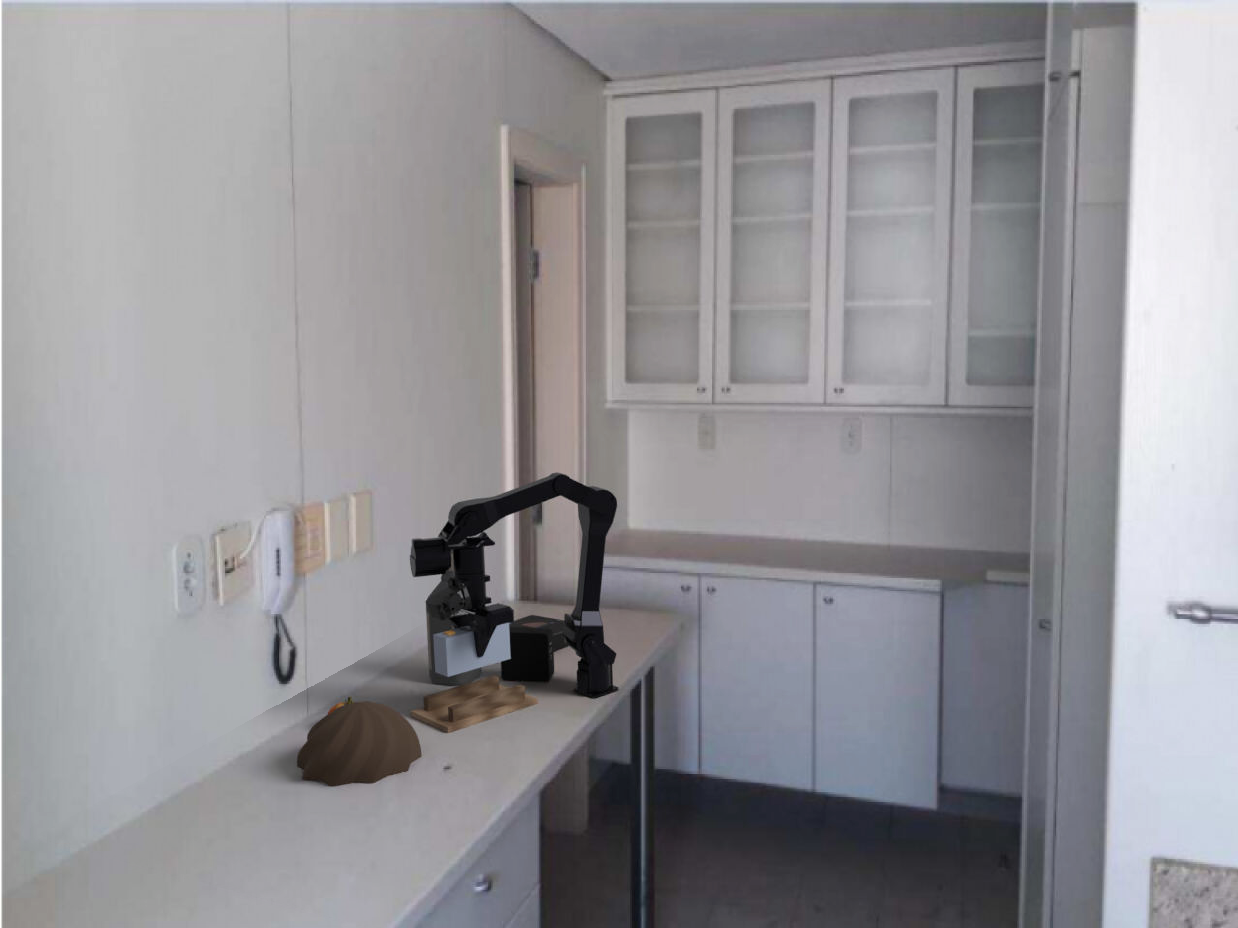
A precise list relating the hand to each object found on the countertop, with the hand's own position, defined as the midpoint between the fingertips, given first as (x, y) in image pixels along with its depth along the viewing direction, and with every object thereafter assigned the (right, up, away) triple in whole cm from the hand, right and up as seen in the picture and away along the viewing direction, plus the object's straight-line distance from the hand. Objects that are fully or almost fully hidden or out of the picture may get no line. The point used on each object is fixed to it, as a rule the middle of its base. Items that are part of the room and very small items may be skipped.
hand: (473, 654), depth 184 cm
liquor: (-6, -9, +20) cm, 22 cm away
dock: (0, -10, +1) cm, 11 cm away
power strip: (0, -2, 0) cm, 2 cm away
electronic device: (+8, -9, +18) cm, 22 cm away
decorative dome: (-15, -14, -21) cm, 29 cm away
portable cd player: (+8, -6, +44) cm, 45 cm away
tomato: (-21, -12, -5) cm, 25 cm away
